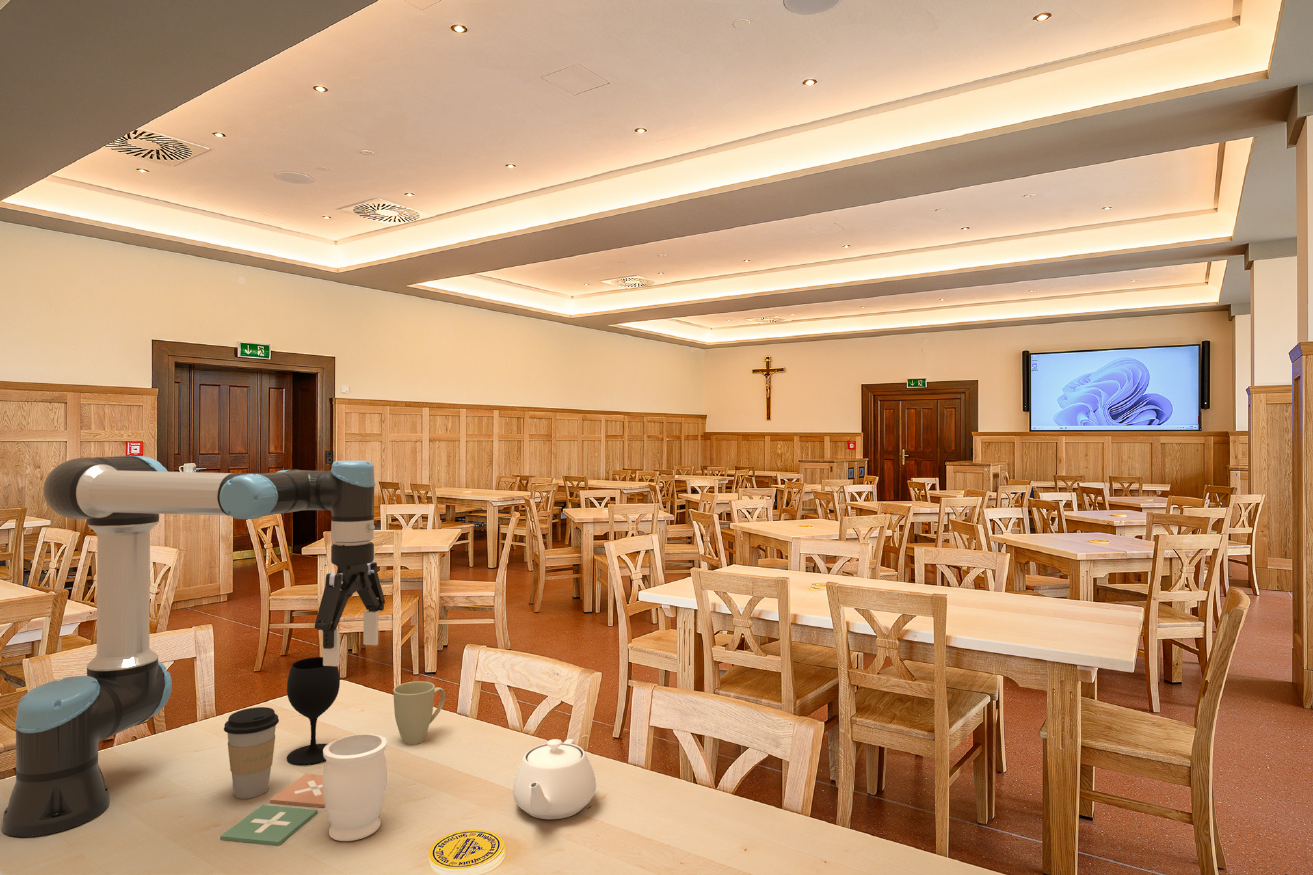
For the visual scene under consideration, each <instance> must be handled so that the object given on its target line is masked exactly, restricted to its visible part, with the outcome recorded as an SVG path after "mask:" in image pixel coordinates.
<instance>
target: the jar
mask: <svg viewBox="0 0 1313 875" xmlns="http://www.w3.org/2000/svg"><path fill="white" fill-rule="evenodd" d="M326 744H327V745H326V746H325V747H324V749H323V756H324V758H325V759H326V762H324V767H323V774H322V775H323V795H324V800H325V807H324V808H325V811H326V817H327V818H328V820H329V823H330V824H331V825H330V827H329V829H328V835H329V837H330V838H331V839H332V840H335V841H339V842H353V841H359V840H362V839H365V838H367V837H369V836H371V835H372V834H375V832H377V830H378V829H379V828H380V827H381V824H382V822H381V819H380V817H379V815H380V813H381V811H382V808H383V805H384V800H385V792H386V789H387V783H388V782H387V781H388V766H387V765H388V764H387V757H386V754H385V751H386V750H387V747H388V741H387V738H386V737H384V736H383V735H379V734H376V733H360V734H351V735H346V736H343V737H339V738H337V739H334V740H332V741H330V742H329V743H326Z"/></svg>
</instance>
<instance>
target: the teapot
mask: <svg viewBox="0 0 1313 875" xmlns="http://www.w3.org/2000/svg"><path fill="white" fill-rule="evenodd" d="M596 788H597V782H596V776H595V772H594V769H593V767H592V763H591V762H590V760H589V758H588V756H587V754H586V752H585V750H584V749H583V748H582V747H581V746H578V745H576V741H575V739H573V738H568V739H567V738H566V739H565V741H564V742H563V741H562V740H561V739H558V738H555V739H550V740H547V742H546V743H543V744H539V745H536V746H534V747H532V748H530V749H529V750H527V751H526V752H525V753H524V755H523V757H522V759H521V761H520V764H519V766H518V768H517V771H516V773H515V777H514V780H513V785H512V796H513V799H514V801H515V803H516V804H517V806H518V807H519V808H520V809H522V810H523V811H524V812H526V814H528V815H529V816H530V817H531V816H532V817H533V818H537V819H541V820H558V819H559V820H560V819H565V818H569V817H571V816H574V815H576V814H578V813H579V812H581V811H582V810H583V809H584V808H585V807H586V806H587V805H588V804H589V803H590V802H591V800H592V799H593V798H594V795H595V792H596Z"/></svg>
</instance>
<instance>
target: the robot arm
mask: <svg viewBox="0 0 1313 875" xmlns="http://www.w3.org/2000/svg"><path fill="white" fill-rule="evenodd" d="M374 467H375V466H374V465H373V463H372V462H371V461H369V460H334V462H332V464H331V469H330V470H326V471H325V470H309V469H308V470H305V469H304V470H303V469H302V470H301V469H286V470H285V469H284V470H283V469H282V470H279V471H276V472H267V473H266V472H264V473H247V472H245V473H244V472H243V473H242V472H239V473H234V472H233V473H232V472H230V473H229V472H226V473H225V472H199V471H198V472H196V471H195V472H194V471H193V472H192V471H168V469H167V468H166V467H165V466H163V465H162V463H161V462H159V461H158V460H156V459H154V458H152V457H148V456H139V455H131V454H129V455H117V456H116V455H114V456H98V457H97V456H96V457H91V456H89V457H79V458H72V459H69V460H67V461H64V462H63V463H60V464H58V465H56V467H54V468H53V469H52V470H51V471H50V472H49V474H48V475H47V477H46V479H45V481H44V483H43V488H42V489H43V497H44V501H45V502H46V504H47V505H48V507H49V508H50V509H51V510H52V511H53V512H54V513H56V514H58V515H60V516H61V517H65V518H67V519H72V520H87V527H88V528H90V529H91V530H92V531H94V532H95V533H96V535H97V541H96V542H97V544H96V546H97V548H96V549H97V550H96V551H97V553H96V554H97V558H96V559H97V560H96V561H97V562H96V564H97V566H96V569H97V570H96V655H95V657H93V658H92V659H91V660H90V661H89V662H88V663H87V664H86V675H77V676H76V675H75V676H69V677H63V678H62V679H58V680H57V679H56V680H52V681H48V682H45V683H43V684H41V685H39V686H36V687H35V688H33V689H31V690H28V692H26V694H24V695H23V696H22V697H21V699H20V700H19V701H18V704H17V708H16V718H15V720H14V725H15V750H16V751H15V755H16V756H15V784H14V786H13V788H12V792H11V795H10V797H9V802H8V805H7V807H6V808H5V809H4V812H3V814H2V831H3V833H4V834H6V835H8V836H11V837H20V838H21V837H22V838H25V837H29V838H31V837H39V836H45V835H51V834H54V833H59V832H63V831H66V830H69V829H72V828H75V827H77V826H81V825H83V824H85V823H87V822H89V821H91V820H93V819H96V818H97V817H98V816H100V815H101V814H103V813H104V812H105V811H107V809H108V807H109V805H110V789H109V786H108V785H106V784H107V783H106V781H105V777H104V775H103V772H102V770H101V768H100V765H99V742H102V741H103V740H106V739H108V738H111V737H112V736H115V735H117V734H119V733H121V732H124V731H126V730H128V729H130V728H133V727H136V726H139V725H141V724H144V722H147V721H148V720H149V719H150V718H152V717H154V716H157V714H159V713H160V711H162V710H163V709H164V707H165V706H166V705H167V703H168V701H169V699H170V697H171V694H172V688H173V682H172V681H173V680H172V676H171V673H170V671H167V667H166V666H165V665H164V663H162V662H160V661H159V654H158V653H156V652H155V651H153V650H152V649H151V648H150V625H151V624H150V620H151V619H150V618H151V617H150V614H151V613H150V611H151V609H150V607H151V605H150V603H151V600H150V597H151V594H150V593H151V590H150V589H151V587H150V586H151V531H152V529H153V528H155V526H156V525H158V524H159V523H160V514H162V515H165V514H166V515H190V516H191V515H194V516H196V515H198V516H229V517H232V518H233V519H236V520H256V519H261V518H262V517H268V516H273V515H281V514H287V513H294V512H300V511H330V512H331V527H330V528H331V529H330V541H332V542H333V543H332V545H331V546H330V552H331V553H330V563H332V565H333V566H334V565H335V566H336V568H337V569H336V573H326V575H325V585H324V590H323V592H322V596H321V599H320V600H321V601H320V603H319V607H318V612H317V616H316V619H315V622H314V629H315V630H318V631H322V657H323V666H338V667H339V666H340V648H341V646H340V644H341V643H340V638H341V637H340V633H341V632H340V628H338V626H339V623H340V620H341V618H342V615H343V613H344V611H345V608H346V605H347V603H348V601H349V599H350V598H351V597H352V596H353V594H354V593H357V594H358V596H359V598H360V600H361V602H362V604H363V605H364V608H365V609H366V610H364V611H363V640H362V642H363V645H364V646H365V645H366V646H367V645H368V646H378V645H379V611H381V612H382V611H384V610H385V604H386V599H385V596H384V592H383V589H382V585H381V581H380V577H379V573H378V563H377V562H376V561H375V562H374V560H375V544H374V543H373V542H372V540H374V538H375V529H376V526H375V520H374V519H375V514H374V512H375V511H374V510H375V487H376V482H375V468H374Z"/></svg>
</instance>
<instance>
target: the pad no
mask: <svg viewBox="0 0 1313 875" xmlns="http://www.w3.org/2000/svg"><path fill="white" fill-rule="evenodd" d="M269 803H270V804H279V805H289V806H290V805H292V806H301V807H314V808H323V809H325V808H326V807H325V800H324V795H323V774H315V773H305V774H303V775H301V776H299V778H297V779H296V780H295V781H293V782H292V783H290V784H289V785H288V786H286V787H285V788H284V789H282V790H281V791H280V792H279V793H277V794H275V795H274V796H273V797H272V798H270V799H269Z"/></svg>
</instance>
